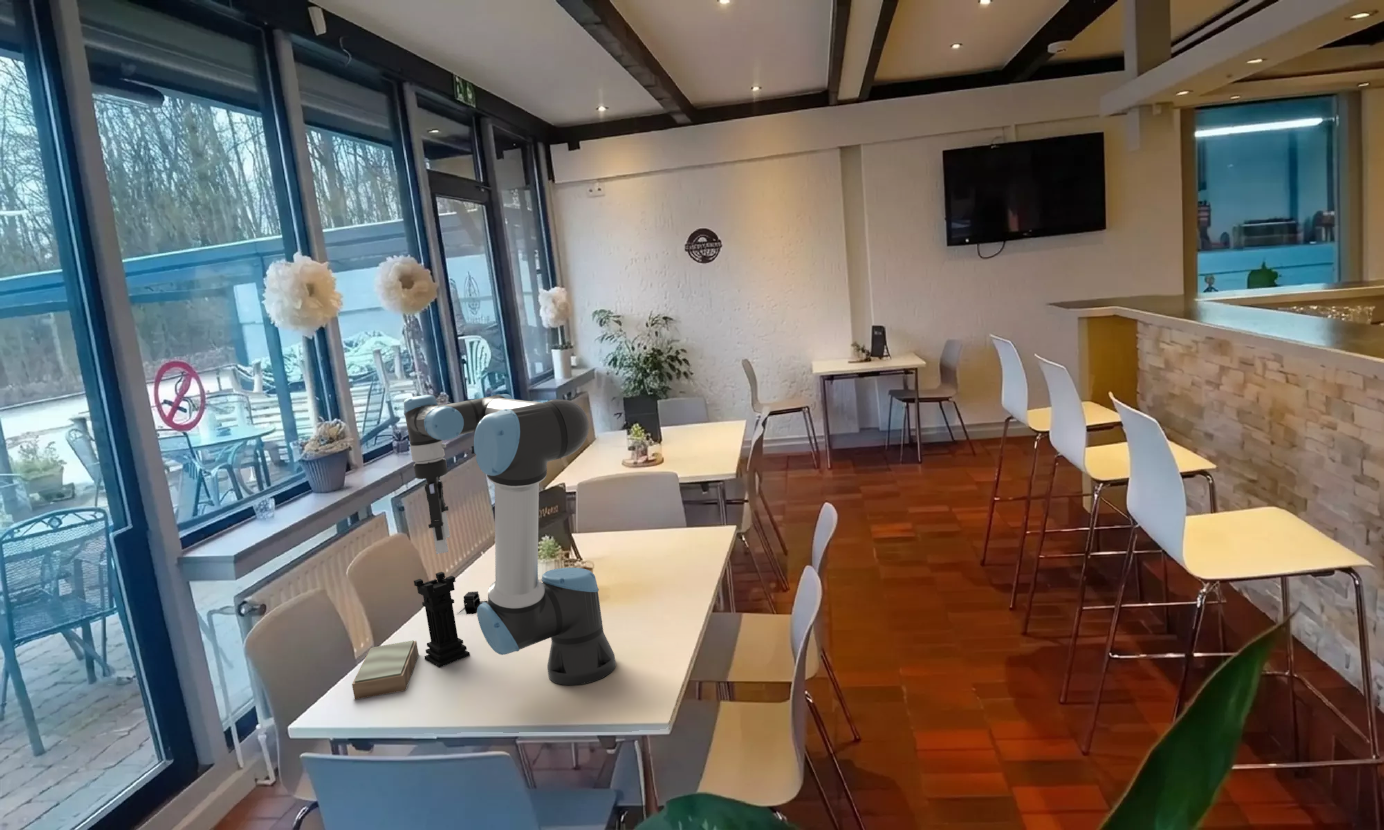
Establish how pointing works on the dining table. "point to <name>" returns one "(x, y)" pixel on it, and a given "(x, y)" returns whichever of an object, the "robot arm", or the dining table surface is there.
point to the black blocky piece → (471, 603)
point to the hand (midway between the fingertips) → (443, 545)
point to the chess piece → (441, 621)
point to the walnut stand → (386, 669)
